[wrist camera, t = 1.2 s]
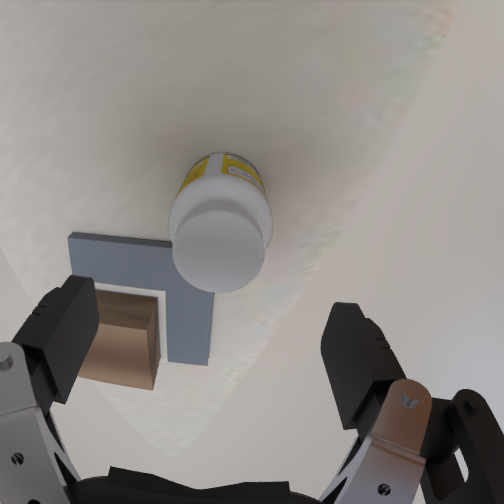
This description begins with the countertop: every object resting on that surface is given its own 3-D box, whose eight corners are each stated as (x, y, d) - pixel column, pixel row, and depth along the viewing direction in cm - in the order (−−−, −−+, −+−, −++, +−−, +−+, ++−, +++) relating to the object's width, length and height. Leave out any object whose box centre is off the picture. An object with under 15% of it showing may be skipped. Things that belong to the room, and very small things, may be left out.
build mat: (70, 232, 23) (64, 238, 22) (217, 246, 24) (217, 253, 23) (89, 343, 28) (86, 350, 27) (208, 359, 30) (207, 367, 29)
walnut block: (79, 287, 24) (60, 316, 20) (156, 297, 25) (146, 330, 21) (91, 346, 27) (78, 376, 24) (159, 357, 28) (153, 390, 24)
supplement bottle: (191, 228, 23) (168, 310, 15) (180, 156, 21) (142, 200, 12) (264, 221, 24) (282, 300, 15) (259, 148, 21) (278, 186, 12)
